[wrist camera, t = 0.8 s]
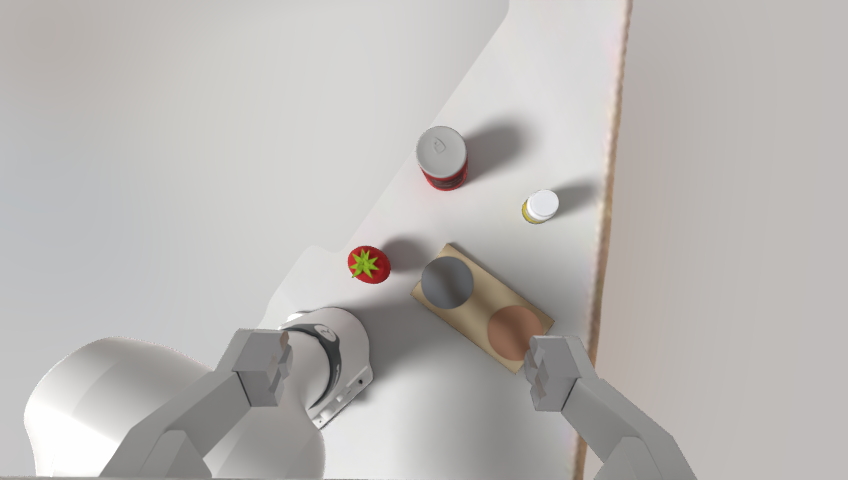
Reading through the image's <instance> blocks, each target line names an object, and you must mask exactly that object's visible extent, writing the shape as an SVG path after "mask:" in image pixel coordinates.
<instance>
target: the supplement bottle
mask: <svg viewBox="0 0 848 480" xmlns="http://www.w3.org/2000/svg"><path fill="white" fill-rule="evenodd" d="M558 206H559V199H558V197H557V195H556V194H555V193H554V192H552V191H550V190H540V191H537V192H534V193H533V194H532V195H531V196H530V197H529V198H528V199H527V200H526V202H525V203H524V205H523V207H522V214H523V217H524V218H525V220H526V221H528V222H529V223H532V224H540V223H543V222H544V221H546V220H548V219H550V218H551V217H552V216H553V215H554V214H555V213H556V211H557V209H558Z"/></svg>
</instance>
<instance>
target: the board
mask: <svg viewBox="0 0 848 480" xmlns="http://www.w3.org/2000/svg"><path fill="white" fill-rule="evenodd" d="M410 295H412V296H413V297H414V298H416V299H417V300H418V301H419V302H421V303H422V304H423V305H425V306H426V307H427V308H429V309H430V310H431V311H433V312H434V313H435V314H437V315H438V316H439V317H441V318H442V319H443V320H444V321H446V322H447V323H448V324H450V325H451V326H452V327H454V328H455V329H456V330H458V331H459V332H460V333H462V334H463V335H464V336H465V337H467V338H468V339H469V340H471V341H472V342H473V343H475V344H476V345H477V346H479V347H480V348H481V349H483V350H484V351H485V352H486V353H488V354H489V355H490V356H492V357H493V358H494V359H496V360H497V361H498V362H500V363H501V364H502V365H504V366H505V367H506V368H507V369H509V370H510V371H511V372H513V373H514V374H515V375H516V373H517V372H518V371H519V369H520V368H521V367H522V365H523V364H524V358H525V354H526V351H528V350H529V349H530V345H529V341H530V338H531V337H532V336H544V335H545V334H546V333H547V331H548V330H549V329H550V327H551V326H552V324H553V323H554V322H555V321H554V320H553V319H551V318H550V317H549V316H547V315H546V314H544V313H543V312H542V311H540V310H539V309H538V308H536V307H535V306H533V305H532V304H531V303H529V302H528V301H526V300H525V299H524V298H522V297H521V296H519V295H518V294H517V293H515V292H514V291H513V290H511V289H510V288H508V287H507V286H506V285H504V284H503V283H501V282H500V281H499V280H497V279H496V278H495V277H493V276H492V275H490V274H489V273H488V272H486V271H485V270H483V269H482V268H481V267H479V266H478V265H477V264H475V263H474V262H472V261H471V260H470V259H468V258H467V257H465V256H464V255H463V254H461V253H460V252H459V251H457V250H456V249H454V248H453V247H452V246H450V245H449V244H446V245H445V247H444V248H443V249H442V251H441V252H440V254H439V255H438V256H437V258H436V259H435V260H433V261H432V262H430V263H429V264H428V265H427V266H426V268H425V269H424V271H423V274H422V278H421V280H420V281H419V283H418V284H417V285H416V287H415V288H414V289H413V291H412V292H411V294H410Z"/></svg>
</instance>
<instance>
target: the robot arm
mask: <svg viewBox="0 0 848 480" xmlns="http://www.w3.org/2000/svg"><path fill="white" fill-rule="evenodd" d="M278 329H279V330H266V329H239V330H237V331H236V332H235V334H234V336H233V337H232V339H231V341H230V343H229V344H228V346H227V348H226V350H225V352H224V354H223V355H222V357H221V359H220V361H219V363H218V364H217V366H216V368H215V369H213V368H211V367H209V366H207V365H204V364H203V363H201V362H198V361H196V360H195V359H192V358H190V357H188V356H186V355H184V354H182V353H180V352H178V351H176V350H174V349H172V348H170V347H167V346H163V345H159V344H155V343H151V342H146V341H142V340H137V339H131V338H126V337H108V338H104V339H100V340H97V341H94V342H92V343H90V344H87V345H85V346H83V347H81V348H79V349H77V350H75V351H74V352H72V353H71V354H69V355H68V356H66V357H65V358H63V359H62V360H61V361H59V362H58V363H57V364H56V365H55V366H54V367H53V368H52V369H51V370H49V371H48V373H47V374H46V375H45V376H44V377H43V378H42V379H41V381H40V382H39V383H38V385H37V386H36V388H35V389H34V391H33V393H32V394H31V396H30V398H29V400H28V403H27V405H26V408H25V412H24V424H25V428H26V430H27V432H28V435H29V438H30V441H31V445H32V448H33V453H34V458H35V467H36V476H0V480H366V479H323V477H324V470H325V445H324V440H323V436H322V433H321V431H320V430H319V429H320V428H321V427H323V426H324V425H325V424H326V423H327V422H328V421H329V420H330V419H331V418H332V417H333V416H335V415H336V414H337V413H338V412H339V411H340V410H341V409H342V408H343V407H344V406H345V405H346V404H348V403H349V402H350V401H351V400H352V399H353V398H354V397H355V396H356V395H357V394H358V393H360V392H361V391H362V390H363V389H364V388H365V387H366V386H367V385H368V384H369V383H370V382H371V381H372V380H373V372H372V368H371V366H370V363H369V350H370V349H369V340H368V336H367V333H366V331H365V329H364V327H363V325H362V324H361V322H360V321H359V320H358V319H357V318H356V317H355V316H354V315H352V314H351V313H349V312H347V311H345V310H343V309H339V308H333V307H328V308H322V309H319V310H316V311H313V312H310V313H306V312H296V313H294V314H292V315H291V316H290V317H289V319H288V321H287V322H286V323H284V324H282V325H281V326H280V327H279V328H278ZM529 345H530V349H529V350H528V351H526V354H525V358H524V369H525V374H526V378H527V380H528V381H529V382H530V383H531V384H532V388H531V391H530V393H531V396H532V400H533V403H534V407H535V410H536V411H554V412H561V414H562V415H563V416H564V417H565V418H566V419H567V421H568V422H569V423H570V424H571V425H572V426H573V428H574V429H575V430H576V431H577V432H578V433H579V435H580V436H581V437H582V438H583V439H584V440H585V442H586V443H587V444H588V445H589V446H590V447H591V449H592V450H593V451H594V452H595V453H596V455H597V456H598V457H599V458H600V459H601V460H602V462H603V463H604V465H603V466H602V467H601V469H600V470H599V472H598V473H597V475H596V476H595V478H594V480H697V478H696V477H695V475H694V473H693V472H692V470H691V468H690V466H689V465H688V463H687V461H686V459H685V457H684V456H683V454H682V452H681V450H680V449H679V447H678V445H677V443H676V442H675V440H674V438H673V437H672V436H671V435H670V434H669V433H668V432H667V431H665V430H664V429H663V428H662V427H661V426H659V425H658V424H657V423H656V422H654V421H653V420H652V419H651V418H650V417H648V416H647V415H646V414H645V413H644V412H643V411H641V410H640V409H639V408H638V407H637V406H635V405H634V404H633V403H632V402H630V401H629V400H628V399H627V398H626V397H624V396H623V395H622V394H621V393H620V392H618V391H617V390H616V389H615V388H614V387H612V386H611V385H610V384H609V383H607V382H606V381H605V380H604V379H599V378H598V376H597V374H596V372H595V370H594V368H593V365H592V363H591V361H590V359H589V357H588V355H587V353H586V351H585V349H584V347H583V344H582V342H581V340H580V339H579V338H578V337H577V336H532V337H531V338H530V341H529ZM359 380H362V381H363V383H360V382H359Z"/></svg>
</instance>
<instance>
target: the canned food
mask: <svg viewBox="0 0 848 480" xmlns="http://www.w3.org/2000/svg"><path fill="white" fill-rule="evenodd" d="M416 157H417V161H418V163H419V166H420V167H421V169H422V171H423V173H424V175H425V177H426V179H427V181H428V182H429V183H430V185H432V186H433V187H434V188H436V189H438V190H442V191H450V190H454V189H456V188H458V187H459V186H460V185H461V184H462V183H463V182H464V180H465V178H466V175H467V148H466V144H465V142H464V140H463V138H462V136H461V135H460V134H459V133H458V132H457V131H455V130H454V129H452V128H449V127H445V126H437V127H433V128H430V129H429V130H427V131H426V132H425V133H423V134H422V136H421V137H420V138H419V140H418V143H417V146H416Z"/></svg>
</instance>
